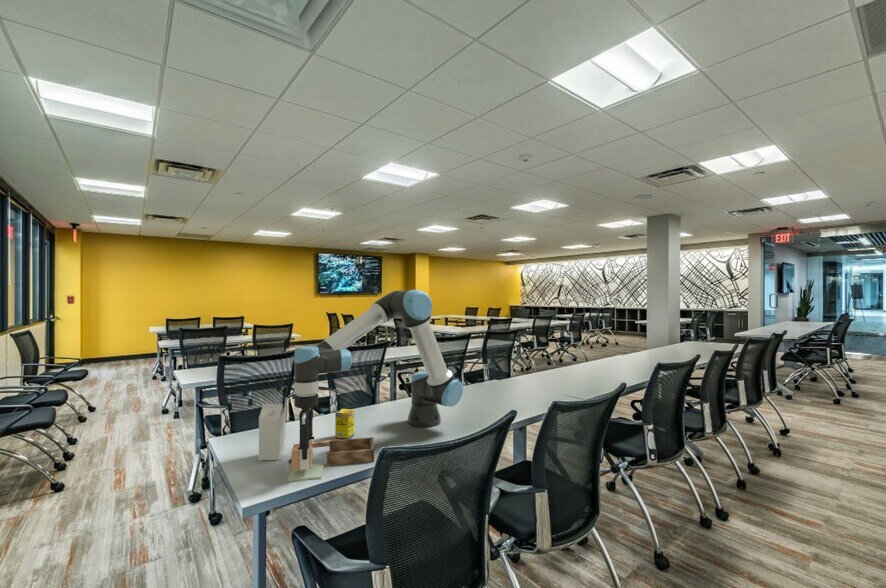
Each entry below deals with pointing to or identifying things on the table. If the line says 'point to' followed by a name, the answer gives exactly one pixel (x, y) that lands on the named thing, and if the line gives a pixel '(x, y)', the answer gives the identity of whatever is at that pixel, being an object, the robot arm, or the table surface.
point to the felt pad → (307, 473)
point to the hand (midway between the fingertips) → (306, 464)
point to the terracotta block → (296, 456)
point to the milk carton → (271, 432)
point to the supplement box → (344, 424)
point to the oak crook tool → (321, 443)
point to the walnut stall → (346, 453)
